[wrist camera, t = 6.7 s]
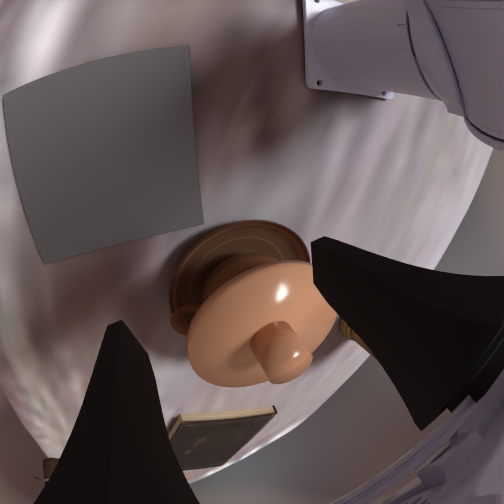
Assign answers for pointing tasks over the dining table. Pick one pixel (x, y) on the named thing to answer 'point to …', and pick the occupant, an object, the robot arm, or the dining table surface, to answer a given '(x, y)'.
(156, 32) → the dining table surface
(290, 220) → the dining table surface
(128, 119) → the coaster
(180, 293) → the cup and saucer
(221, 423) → the hardcover book
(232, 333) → the lid
